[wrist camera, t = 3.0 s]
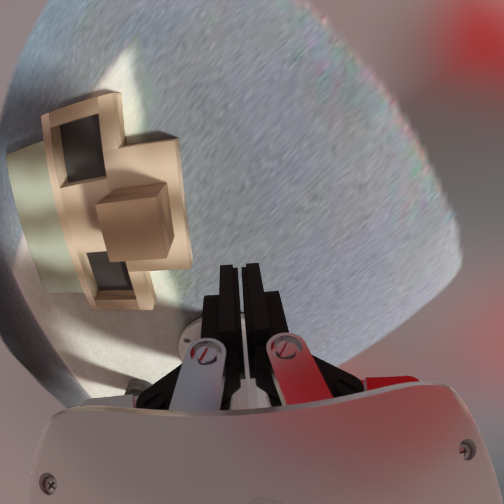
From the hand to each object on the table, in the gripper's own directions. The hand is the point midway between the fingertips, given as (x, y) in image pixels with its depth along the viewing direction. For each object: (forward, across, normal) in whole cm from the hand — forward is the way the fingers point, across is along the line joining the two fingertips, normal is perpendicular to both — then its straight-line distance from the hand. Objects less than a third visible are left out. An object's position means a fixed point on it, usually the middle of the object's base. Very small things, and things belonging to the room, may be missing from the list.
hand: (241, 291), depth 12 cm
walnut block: (+12, +8, +1) cm, 15 cm away
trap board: (+14, +14, +1) cm, 20 cm away
